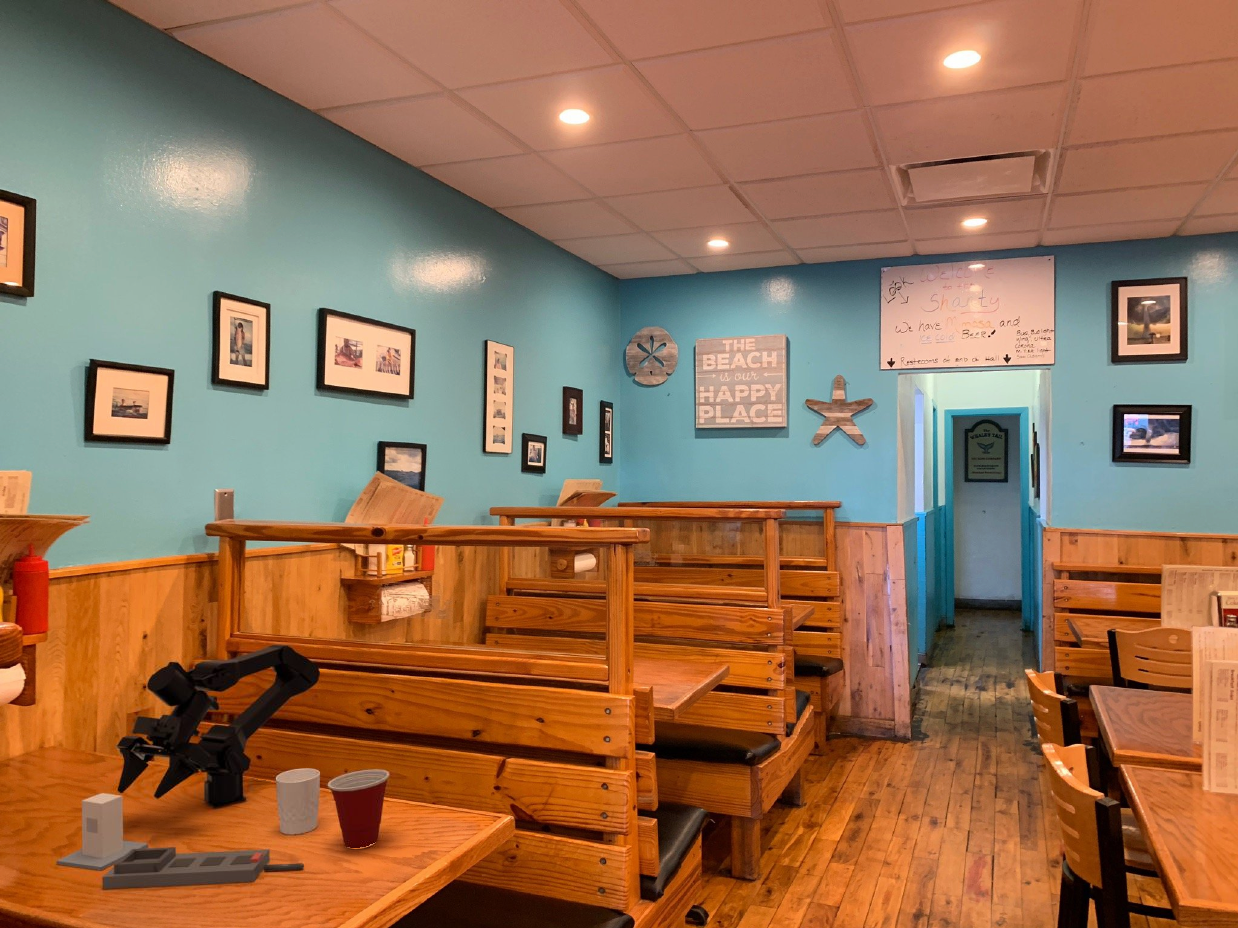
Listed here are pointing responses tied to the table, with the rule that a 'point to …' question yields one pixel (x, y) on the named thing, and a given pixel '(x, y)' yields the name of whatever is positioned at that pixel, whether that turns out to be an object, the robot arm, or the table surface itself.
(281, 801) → the white cup
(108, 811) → the block
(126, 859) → the power strip
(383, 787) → the plastic cup
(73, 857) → the pad
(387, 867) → the table surface
